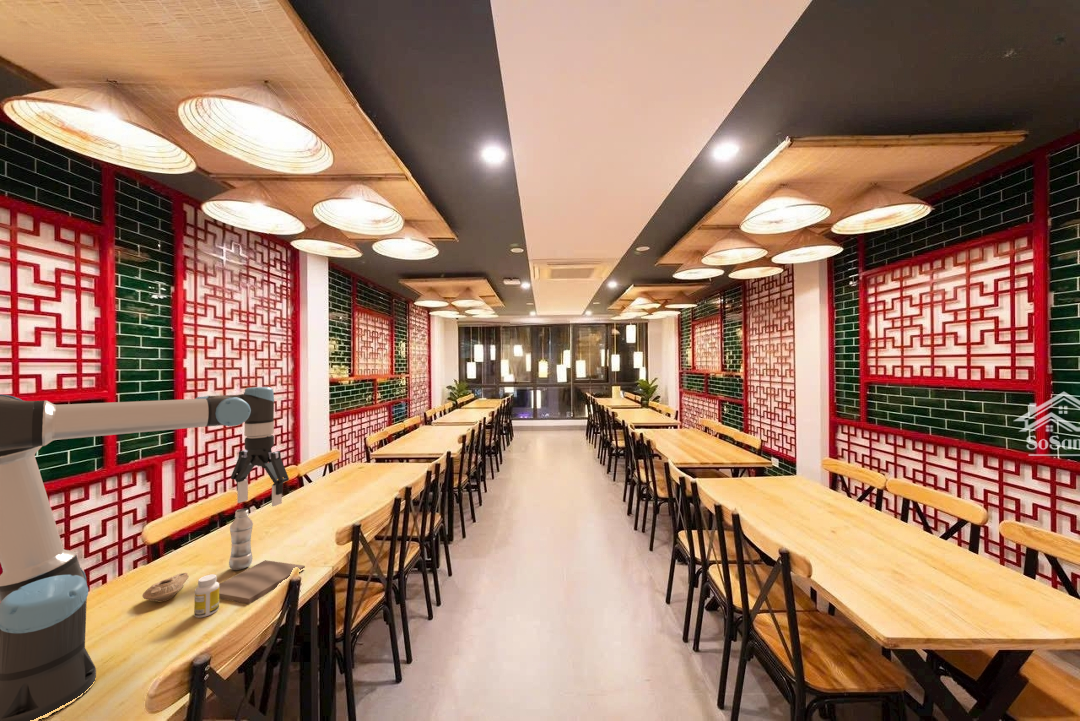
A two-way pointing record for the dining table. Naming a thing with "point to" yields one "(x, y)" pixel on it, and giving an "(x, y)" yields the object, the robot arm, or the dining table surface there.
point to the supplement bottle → (206, 596)
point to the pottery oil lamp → (165, 588)
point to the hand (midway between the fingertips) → (259, 503)
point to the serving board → (255, 581)
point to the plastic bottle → (241, 540)
